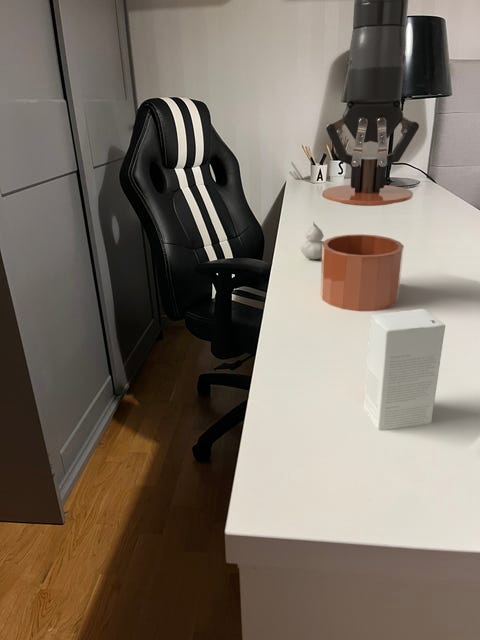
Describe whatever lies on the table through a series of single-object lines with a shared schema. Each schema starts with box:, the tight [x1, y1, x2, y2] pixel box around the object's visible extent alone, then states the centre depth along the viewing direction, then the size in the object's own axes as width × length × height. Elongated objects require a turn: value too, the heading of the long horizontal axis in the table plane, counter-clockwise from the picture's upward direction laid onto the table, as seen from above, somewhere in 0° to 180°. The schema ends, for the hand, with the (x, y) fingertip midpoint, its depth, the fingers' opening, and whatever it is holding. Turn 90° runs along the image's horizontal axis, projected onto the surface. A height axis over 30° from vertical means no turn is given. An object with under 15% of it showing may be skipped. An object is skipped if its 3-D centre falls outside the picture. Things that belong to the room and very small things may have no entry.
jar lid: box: [321, 156, 414, 207], centre depth 76 cm, size 14×14×6 cm
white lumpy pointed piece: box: [300, 221, 325, 260], centre depth 104 cm, size 5×7×8 cm
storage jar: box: [319, 233, 405, 312], centre depth 83 cm, size 13×13×10 cm
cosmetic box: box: [363, 308, 446, 431], centre depth 51 cm, size 6×4×12 cm
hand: (366, 190), depth 77 cm, fingers closed on jar lid, 2 cm apart
